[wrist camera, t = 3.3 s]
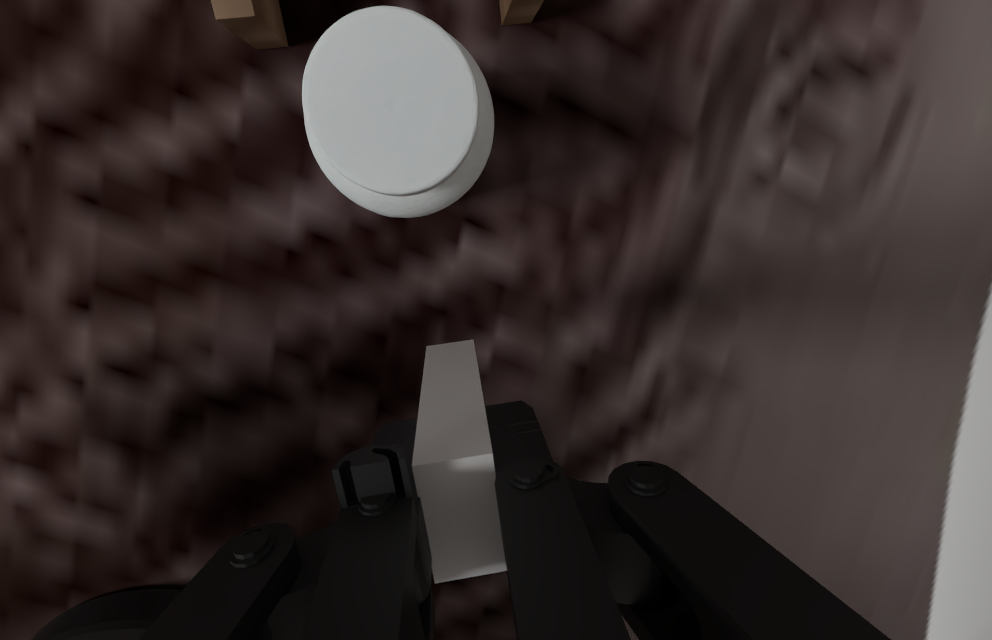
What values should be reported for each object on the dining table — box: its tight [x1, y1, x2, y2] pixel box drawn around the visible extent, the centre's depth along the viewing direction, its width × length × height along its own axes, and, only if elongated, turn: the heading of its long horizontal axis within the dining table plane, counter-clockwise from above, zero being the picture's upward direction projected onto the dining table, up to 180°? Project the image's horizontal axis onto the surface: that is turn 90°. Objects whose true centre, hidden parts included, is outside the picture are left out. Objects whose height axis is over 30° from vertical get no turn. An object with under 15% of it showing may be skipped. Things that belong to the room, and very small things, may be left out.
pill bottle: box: [302, 6, 494, 218], centre depth 15 cm, size 5×5×10 cm
